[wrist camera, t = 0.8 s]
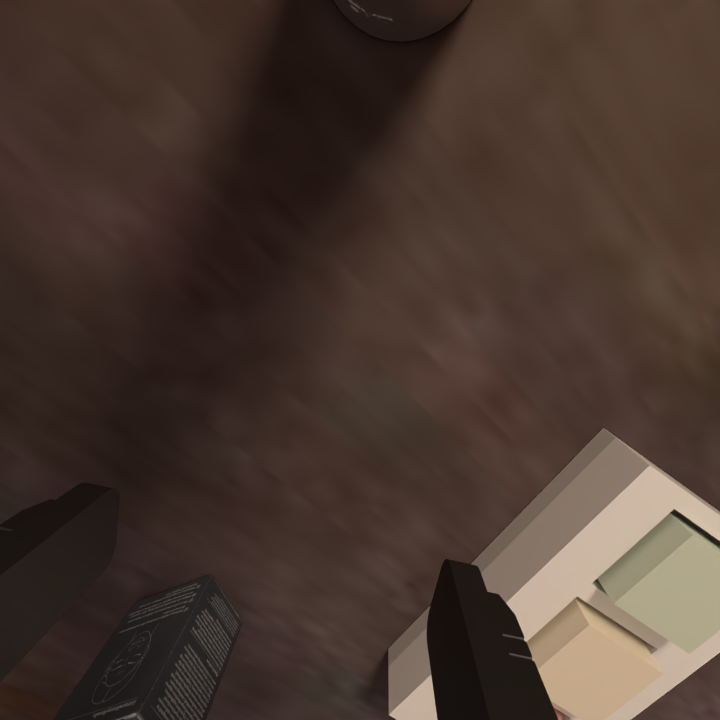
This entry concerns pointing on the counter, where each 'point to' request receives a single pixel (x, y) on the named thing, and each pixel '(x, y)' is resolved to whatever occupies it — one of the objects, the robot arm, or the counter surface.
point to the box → (160, 659)
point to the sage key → (670, 583)
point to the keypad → (571, 566)
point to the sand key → (591, 661)
